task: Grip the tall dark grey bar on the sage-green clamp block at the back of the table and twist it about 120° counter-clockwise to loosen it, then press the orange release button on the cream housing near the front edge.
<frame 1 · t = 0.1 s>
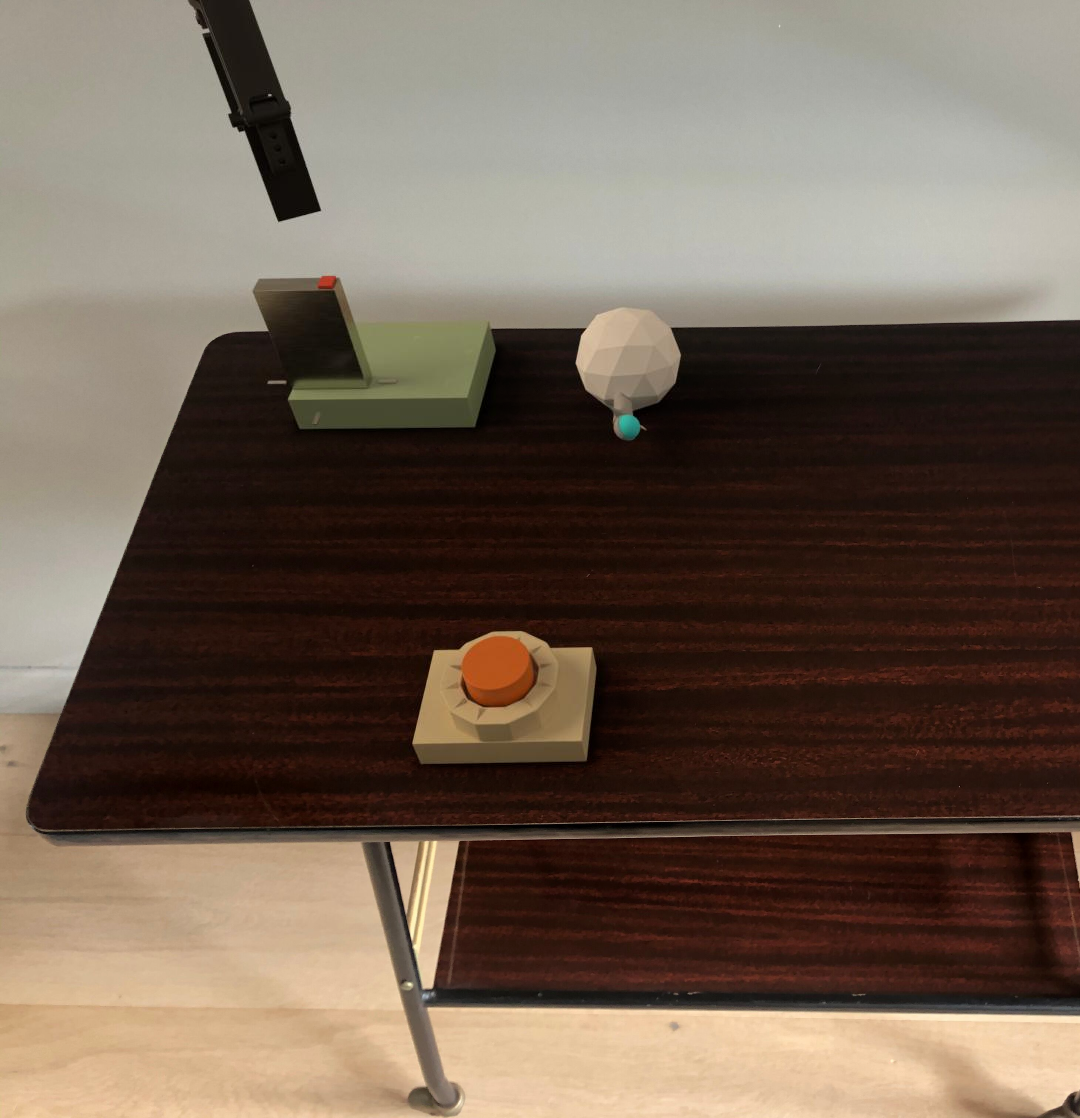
hand: (277, 168, 76), 21 cm above the table, tool pointing down, fingers open, 13 cm apart
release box: (511, 714, 70), on the table
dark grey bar: (314, 333, 85), point 8 cm above the table, hinge at 0.0°
clamp block: (401, 388, 93), on the table
release button: (498, 670, 67), point 4 cm above the table, slide at 0.1 cm
perfume bottle: (632, 415, 90), on the table
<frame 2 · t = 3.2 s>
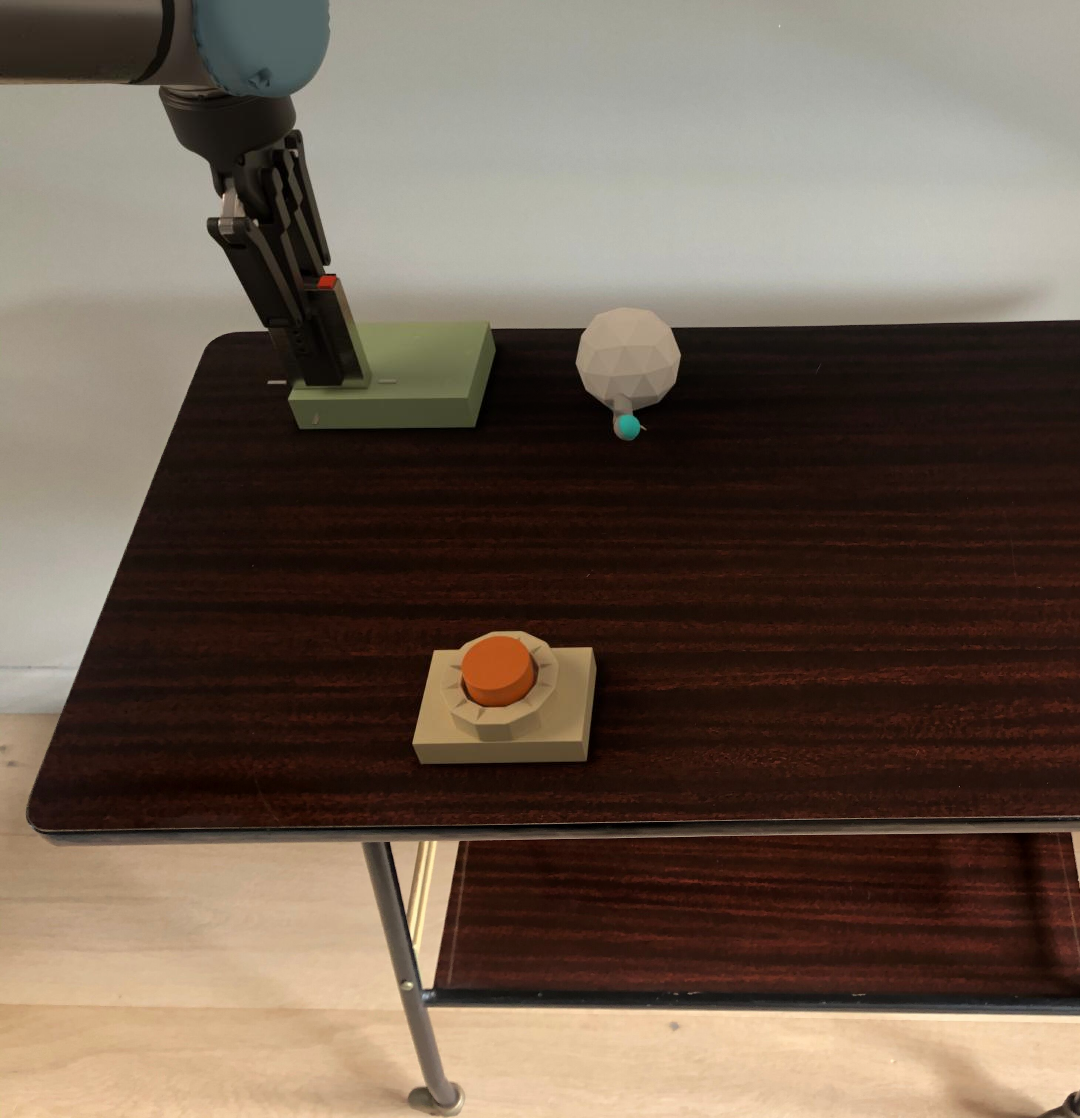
hand: (329, 373, 88), 4 cm above the table, tool pointing down, fingers closed on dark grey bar, 2 cm apart
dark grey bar: (314, 333, 85), point 8 cm above the table, hinge at 0.0°, touching gripper
everything else where it was.
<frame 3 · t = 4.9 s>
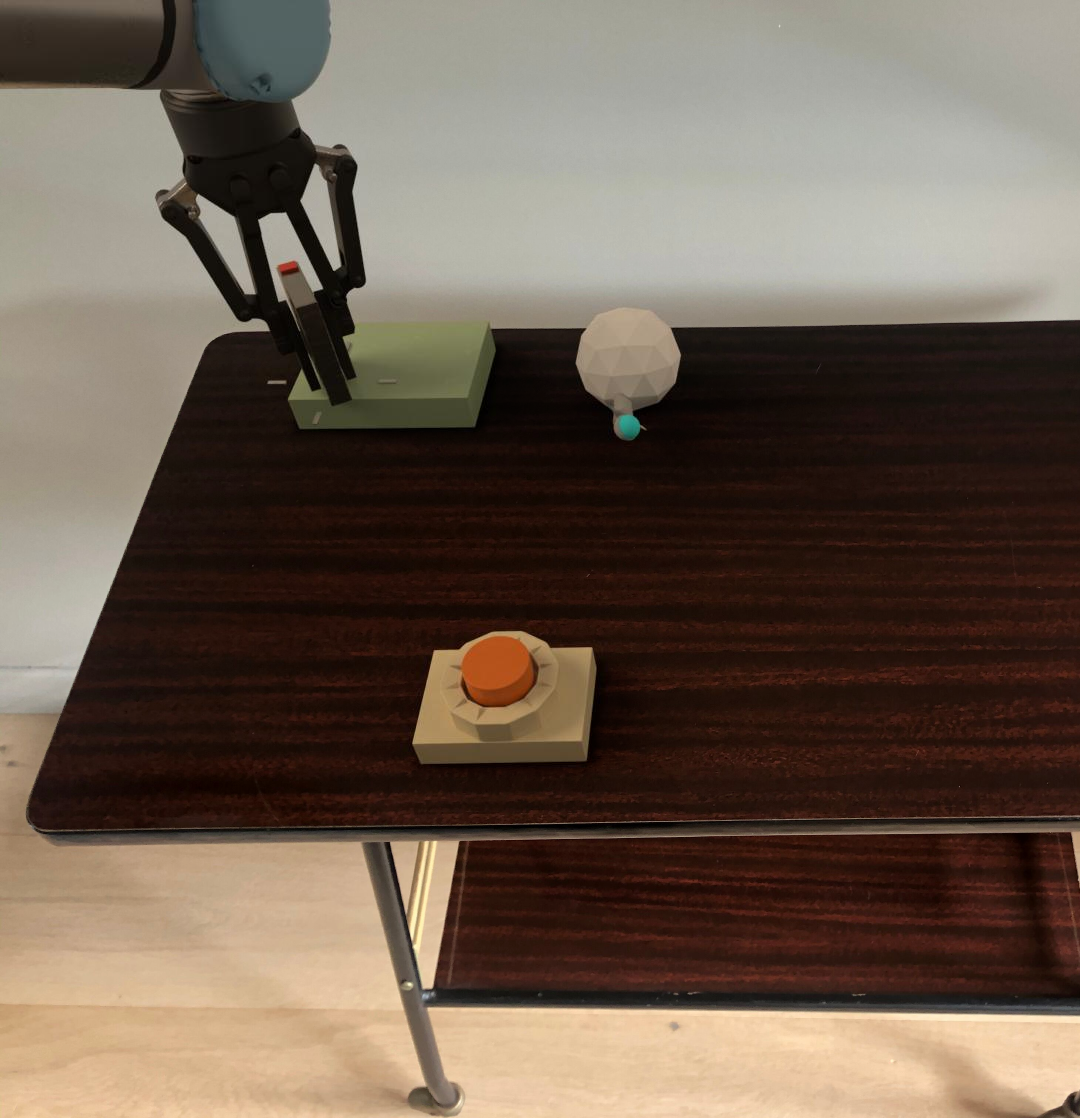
hand: (329, 374, 88), 4 cm above the table, tool pointing down, fingers open, 2 cm apart
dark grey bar: (314, 333, 85), point 8 cm above the table, hinge at 119.2°
everything else where it was.
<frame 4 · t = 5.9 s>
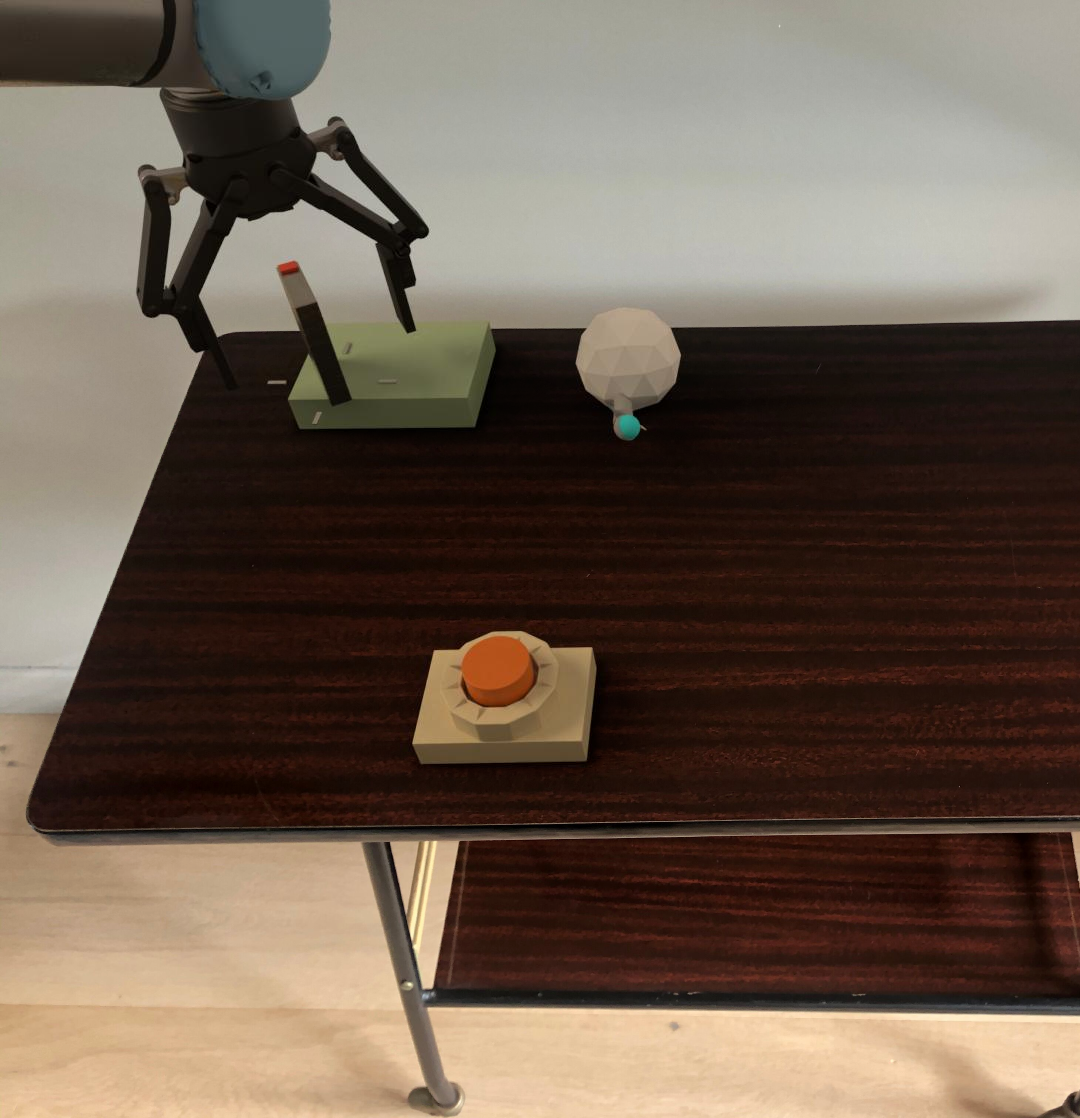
hand: (320, 351, 86), 6 cm above the table, tool pointing down, fingers open, 13 cm apart
nothing on the table moved.
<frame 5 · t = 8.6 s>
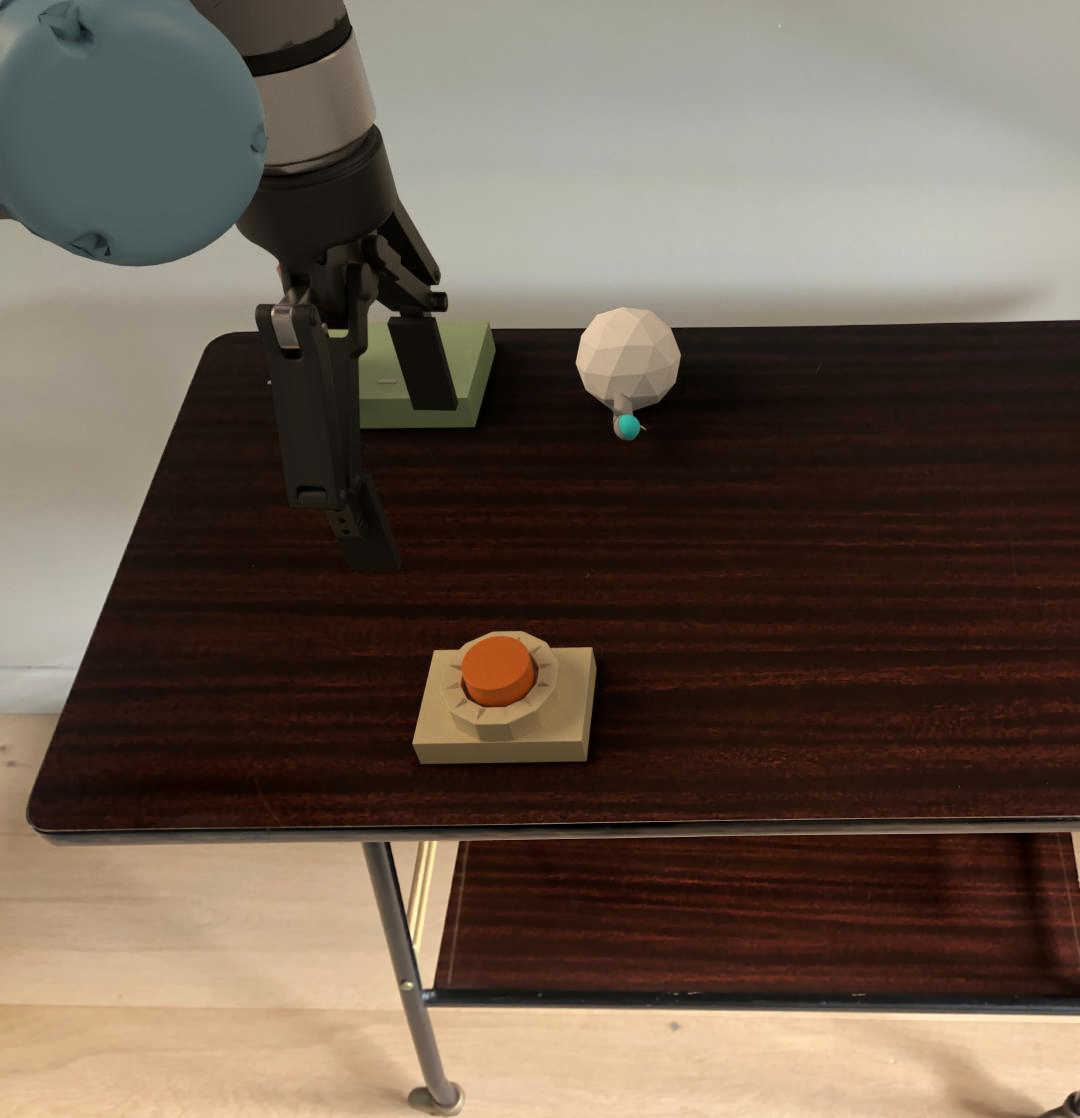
hand: (408, 481, 67), 13 cm above the table, tool pointing down, fingers open, 13 cm apart
nothing on the table moved.
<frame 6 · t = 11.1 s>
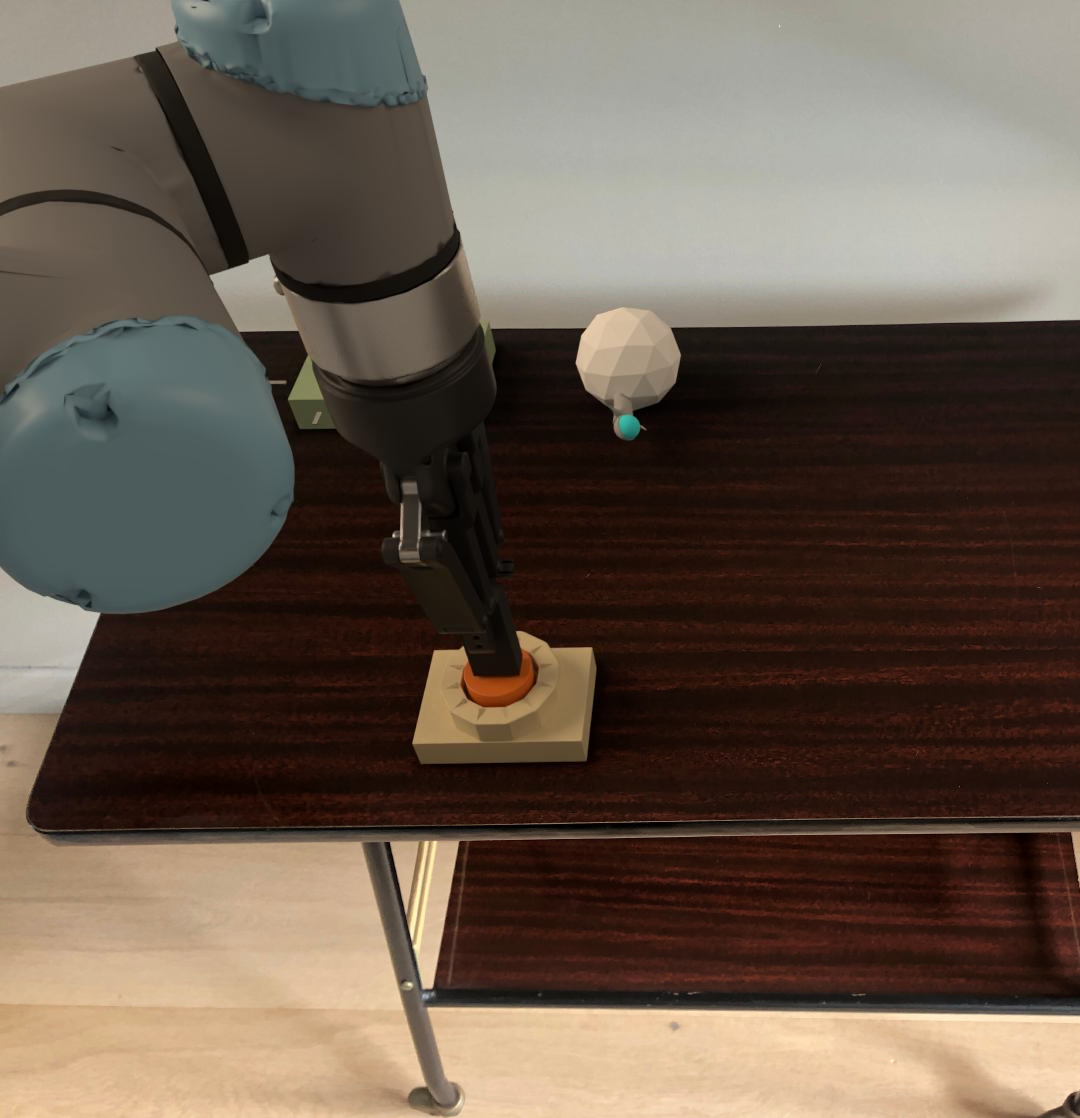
hand: (498, 665, 67), 5 cm above the table, tool pointing down, fingers closed
release button: (500, 677, 68), point 4 cm above the table, slide at -0.6 cm, touching gripper
everything else where it was.
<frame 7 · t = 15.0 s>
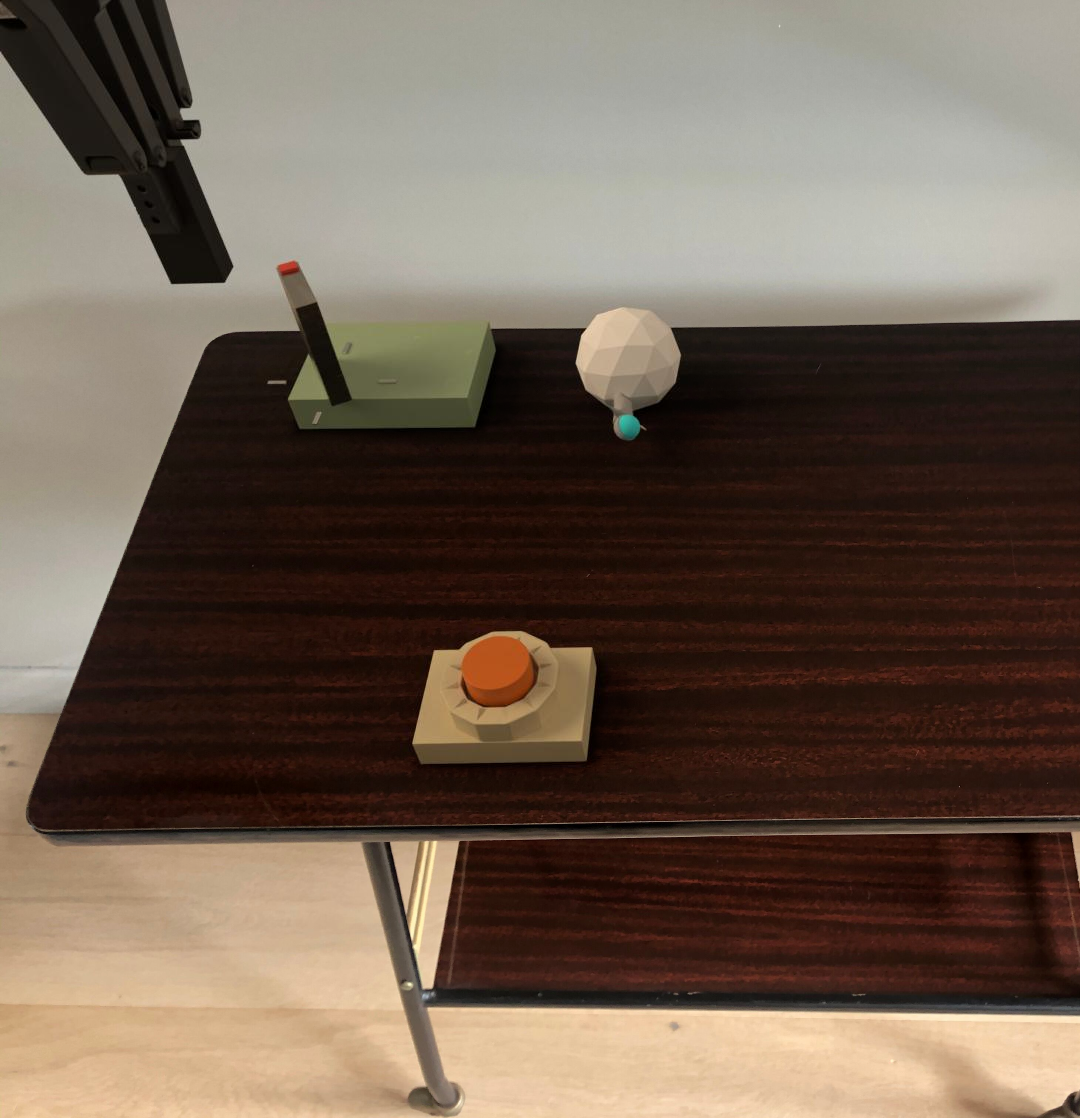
hand: (202, 275, 57), 26 cm above the table, tool pointing down, fingers closed
release button: (498, 670, 67), point 4 cm above the table, slide at 0.1 cm
everything else where it was.
at the end: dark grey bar at +119° (first picture: +0°); release button pushed in 1.0 cm at the most during the clip, back to where it started at the end; release button slide at 0.1 cm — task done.
